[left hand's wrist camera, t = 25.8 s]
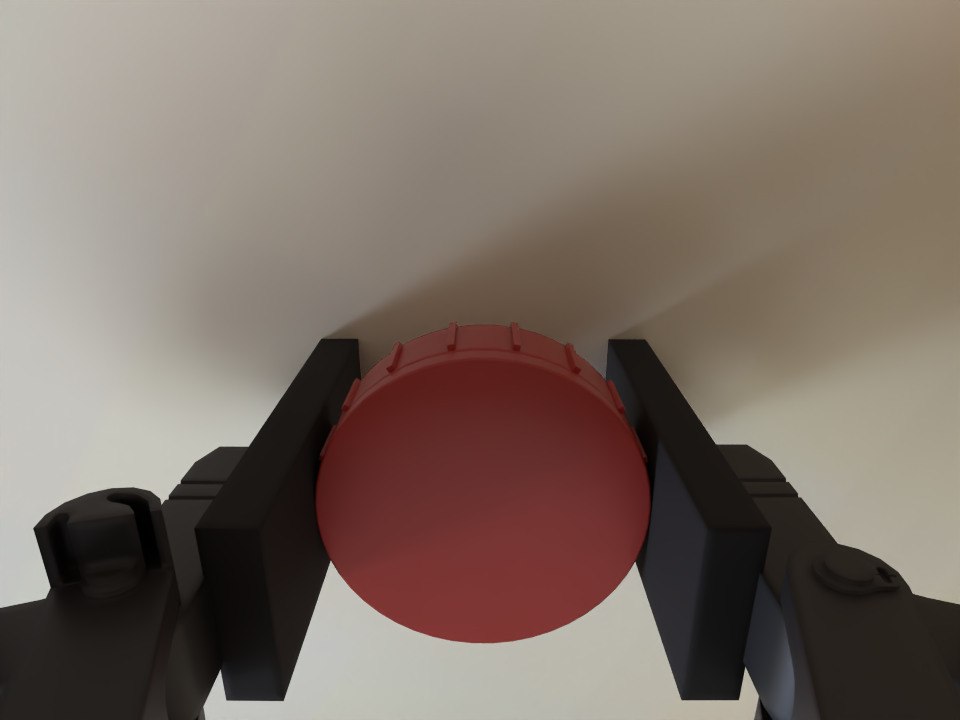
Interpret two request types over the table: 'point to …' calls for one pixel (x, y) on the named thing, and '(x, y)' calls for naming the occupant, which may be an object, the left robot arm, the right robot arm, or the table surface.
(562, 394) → the lid
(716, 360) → the table surface
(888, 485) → the table surface
